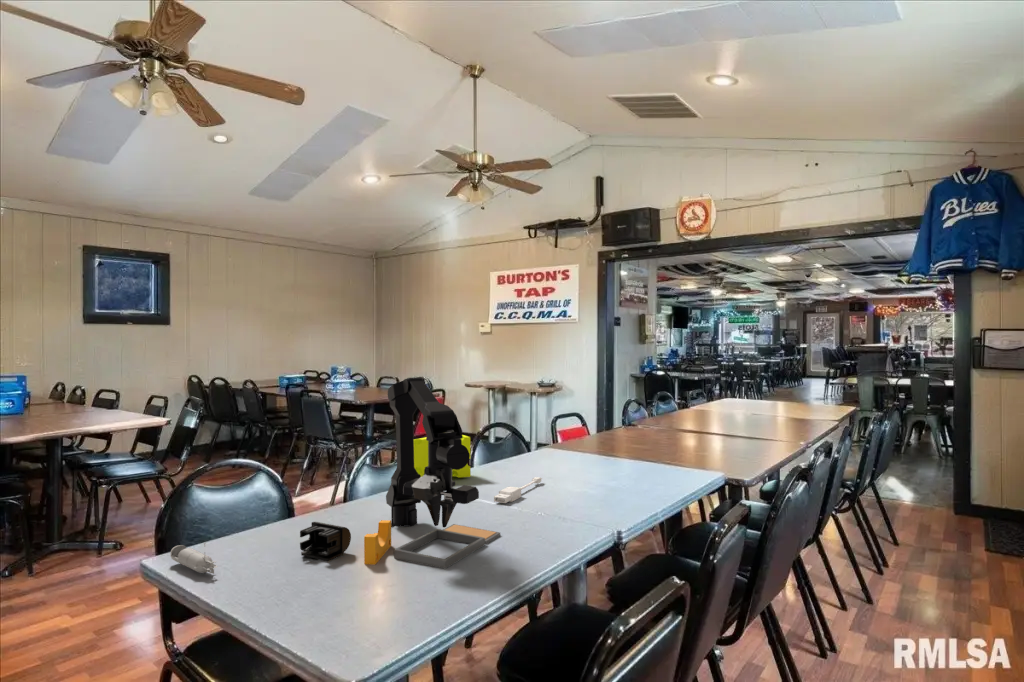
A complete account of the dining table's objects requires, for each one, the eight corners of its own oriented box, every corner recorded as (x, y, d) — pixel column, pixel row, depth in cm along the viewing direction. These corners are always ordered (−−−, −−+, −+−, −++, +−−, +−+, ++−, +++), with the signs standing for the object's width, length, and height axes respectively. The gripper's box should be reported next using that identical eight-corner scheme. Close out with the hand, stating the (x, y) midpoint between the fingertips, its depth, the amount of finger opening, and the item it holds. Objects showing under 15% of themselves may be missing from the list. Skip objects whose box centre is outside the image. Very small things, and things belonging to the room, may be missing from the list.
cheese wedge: (464, 482, 205) (463, 441, 205) (410, 480, 209) (410, 440, 209) (476, 470, 224) (476, 432, 224) (427, 468, 228) (427, 431, 228)
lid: (438, 535, 150) (438, 531, 150) (453, 527, 156) (453, 523, 156) (486, 545, 143) (486, 540, 143) (500, 536, 149) (500, 531, 149)
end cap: (351, 552, 139) (351, 524, 139) (329, 562, 132) (329, 532, 132) (321, 545, 143) (320, 518, 143) (298, 555, 137) (298, 526, 137)
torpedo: (164, 562, 133) (164, 534, 133) (185, 556, 137) (185, 528, 137) (202, 580, 123) (202, 550, 123) (224, 573, 127) (224, 543, 126)
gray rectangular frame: (394, 558, 134) (394, 549, 134) (436, 536, 149) (436, 528, 149) (445, 569, 127) (445, 560, 127) (484, 545, 142) (484, 537, 142)
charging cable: (546, 483, 205) (546, 474, 205) (506, 505, 177) (506, 495, 177) (534, 482, 207) (533, 473, 207) (493, 503, 180) (492, 493, 180)
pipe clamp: (374, 545, 143) (374, 520, 143) (391, 546, 142) (391, 520, 142) (356, 564, 131) (356, 536, 131) (375, 565, 131) (375, 537, 130)
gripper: (387, 464, 136) (388, 530, 136) (453, 472, 127) (453, 543, 127) (417, 455, 145) (417, 517, 145) (479, 463, 136) (480, 528, 136)
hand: (440, 526), depth 138 cm, fingers closed
